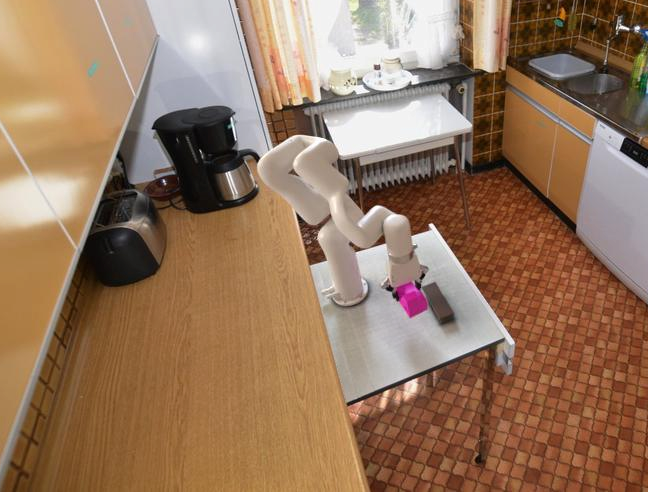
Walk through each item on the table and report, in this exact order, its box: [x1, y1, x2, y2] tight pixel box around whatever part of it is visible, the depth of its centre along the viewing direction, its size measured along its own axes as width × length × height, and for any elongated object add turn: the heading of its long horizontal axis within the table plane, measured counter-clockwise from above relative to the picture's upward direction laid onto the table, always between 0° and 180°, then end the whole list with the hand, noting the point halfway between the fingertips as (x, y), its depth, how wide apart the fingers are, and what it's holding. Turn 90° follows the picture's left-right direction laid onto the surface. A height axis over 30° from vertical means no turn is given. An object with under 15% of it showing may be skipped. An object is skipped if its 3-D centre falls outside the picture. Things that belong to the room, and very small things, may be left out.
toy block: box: [388, 281, 429, 319], centre depth 138 cm, size 15×6×8 cm, turn 29°
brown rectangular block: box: [421, 281, 455, 324], centre depth 147 cm, size 15×5×3 cm, turn 23°
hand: (407, 293), depth 139 cm, fingers closed on toy block, 6 cm apart
